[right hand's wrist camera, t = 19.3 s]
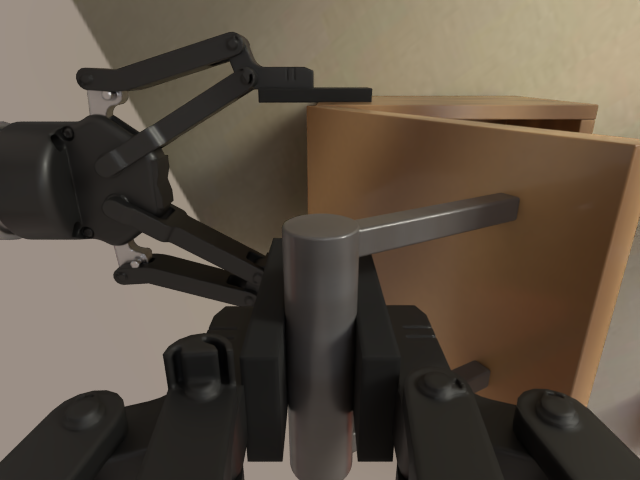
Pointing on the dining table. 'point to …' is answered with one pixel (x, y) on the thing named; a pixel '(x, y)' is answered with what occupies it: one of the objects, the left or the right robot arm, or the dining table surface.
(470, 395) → the right robot arm
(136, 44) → the dining table surface
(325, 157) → the lid
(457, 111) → the chest
